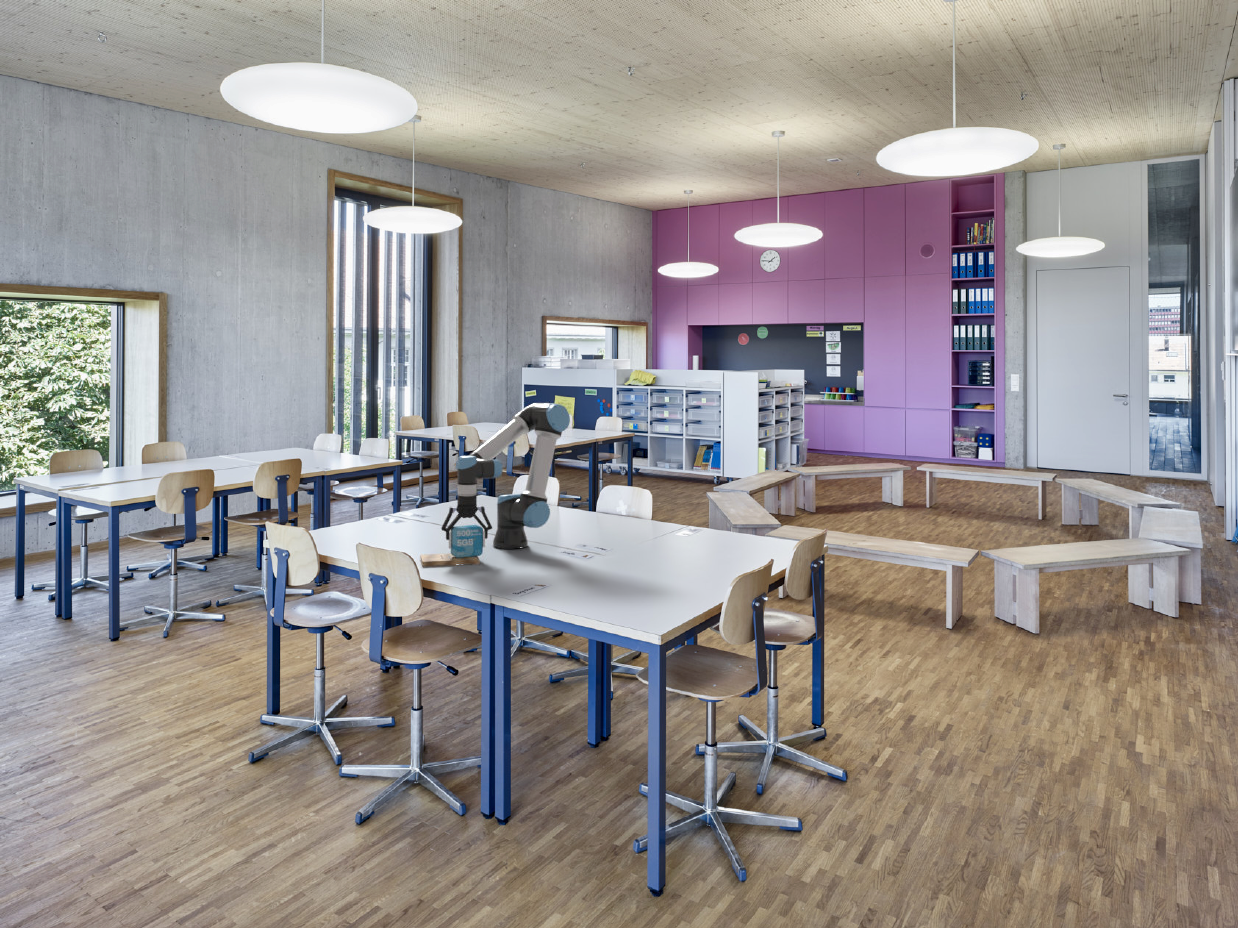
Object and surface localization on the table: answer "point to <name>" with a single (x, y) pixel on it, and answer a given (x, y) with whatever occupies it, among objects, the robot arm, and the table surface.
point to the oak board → (446, 560)
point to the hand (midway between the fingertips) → (466, 547)
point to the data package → (466, 541)
